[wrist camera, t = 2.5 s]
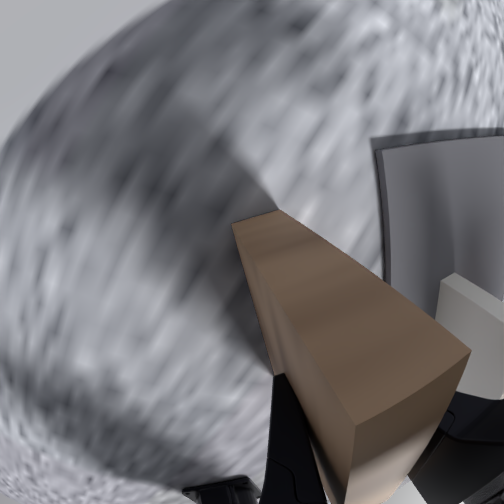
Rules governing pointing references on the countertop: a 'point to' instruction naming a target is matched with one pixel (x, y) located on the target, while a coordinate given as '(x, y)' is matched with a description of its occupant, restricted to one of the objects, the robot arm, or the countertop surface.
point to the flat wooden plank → (349, 356)
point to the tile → (475, 334)
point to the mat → (443, 216)
